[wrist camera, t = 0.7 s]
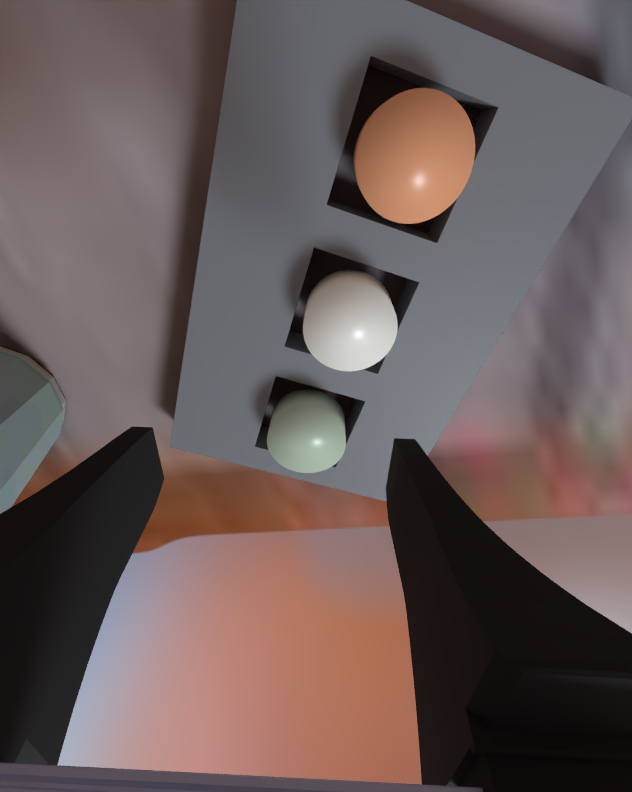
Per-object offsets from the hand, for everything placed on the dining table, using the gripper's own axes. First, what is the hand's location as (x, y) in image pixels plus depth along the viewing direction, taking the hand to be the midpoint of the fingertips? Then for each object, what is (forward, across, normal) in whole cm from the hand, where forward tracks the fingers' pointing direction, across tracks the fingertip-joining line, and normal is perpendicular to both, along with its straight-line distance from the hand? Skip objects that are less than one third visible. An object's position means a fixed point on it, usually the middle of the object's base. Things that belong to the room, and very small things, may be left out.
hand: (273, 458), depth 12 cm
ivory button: (+9, -3, -1) cm, 9 cm away
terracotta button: (+9, -4, -8) cm, 12 cm away
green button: (+9, -1, +5) cm, 10 cm away
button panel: (+10, -2, -1) cm, 11 cm away
